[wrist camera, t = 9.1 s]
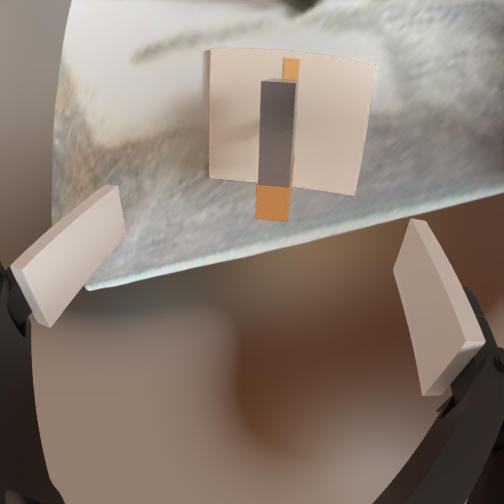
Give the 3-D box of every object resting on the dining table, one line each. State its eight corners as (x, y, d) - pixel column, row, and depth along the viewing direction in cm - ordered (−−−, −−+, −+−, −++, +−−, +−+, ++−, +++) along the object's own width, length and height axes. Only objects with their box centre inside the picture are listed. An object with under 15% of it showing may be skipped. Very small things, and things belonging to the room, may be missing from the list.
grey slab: (272, 78, 26) (259, 81, 18) (299, 80, 26) (297, 83, 18) (268, 179, 32) (255, 218, 25) (292, 181, 32) (287, 222, 24)
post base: (373, 64, 29) (390, 63, 23) (353, 193, 40) (362, 220, 33) (212, 48, 31) (190, 45, 25) (211, 175, 42) (192, 199, 35)
